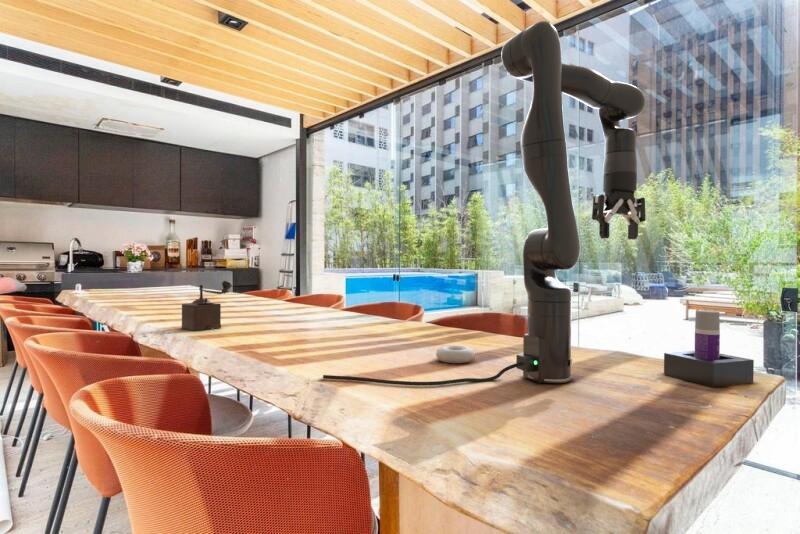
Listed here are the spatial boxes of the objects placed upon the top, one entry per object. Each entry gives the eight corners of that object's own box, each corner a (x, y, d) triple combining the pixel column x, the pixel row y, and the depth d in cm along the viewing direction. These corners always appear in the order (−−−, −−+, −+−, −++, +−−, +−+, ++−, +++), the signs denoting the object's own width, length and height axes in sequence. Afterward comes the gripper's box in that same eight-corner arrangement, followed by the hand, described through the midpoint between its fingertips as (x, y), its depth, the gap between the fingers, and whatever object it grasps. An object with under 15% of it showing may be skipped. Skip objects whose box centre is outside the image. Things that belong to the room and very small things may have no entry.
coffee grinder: (196, 331, 173) (196, 281, 173) (180, 328, 179) (180, 280, 179) (234, 326, 185) (234, 280, 185) (218, 324, 192) (218, 279, 192)
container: (723, 381, 104) (724, 312, 104) (699, 380, 105) (700, 312, 105) (713, 376, 108) (714, 310, 108) (690, 375, 109) (691, 310, 109)
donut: (464, 367, 117) (480, 359, 126) (464, 353, 117) (480, 346, 126) (429, 362, 123) (446, 355, 131) (428, 348, 123) (446, 342, 131)
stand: (713, 387, 99) (713, 363, 99) (663, 374, 110) (663, 352, 110) (753, 382, 103) (753, 359, 103) (701, 370, 114) (701, 349, 114)
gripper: (630, 177, 123) (629, 240, 123) (585, 173, 118) (584, 238, 119) (654, 172, 116) (653, 239, 116) (607, 167, 111) (606, 237, 111)
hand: (618, 238), depth 117 cm, fingers open, 8 cm apart
